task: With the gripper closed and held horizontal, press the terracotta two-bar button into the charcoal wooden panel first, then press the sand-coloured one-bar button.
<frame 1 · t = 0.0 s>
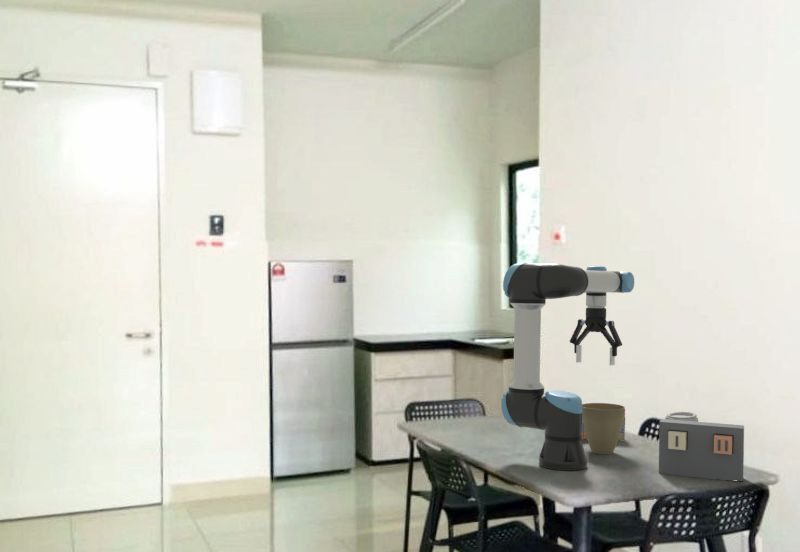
hand: (595, 363, 311), 28 cm above the table, tool pointing down, fingers open, 13 cm apart
button one: (677, 440, 252), point 11 cm above the table, slide at 0.0 cm
button panel: (700, 475, 253), on the table
disposable coffee cup: (680, 458, 278), on the table
stack of blocks: (594, 439, 310), on the table
plant pot: (601, 452, 286), on the table
button two: (723, 444, 246), point 11 cm above the table, slide at 0.0 cm
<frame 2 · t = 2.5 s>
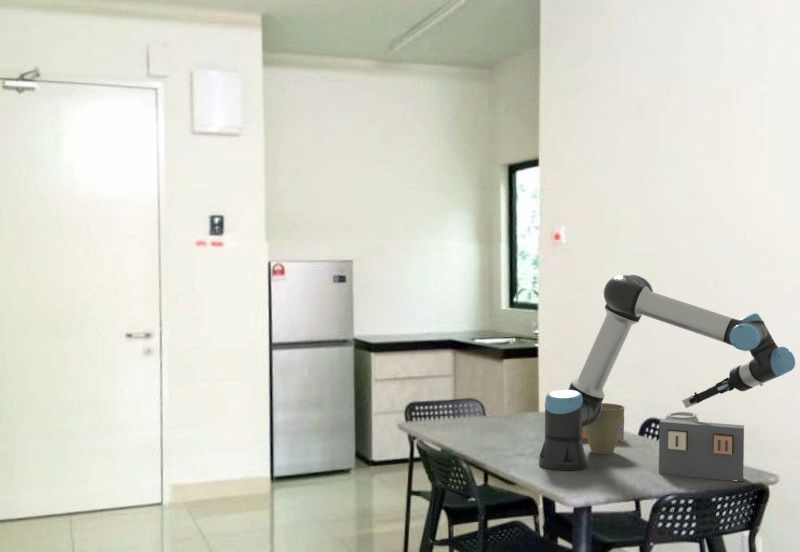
hand: (697, 398, 268), 22 cm above the table, tool tilted 65°, fingers open, 13 cm apart
plant pot: (601, 452, 286), on the table, touching arm
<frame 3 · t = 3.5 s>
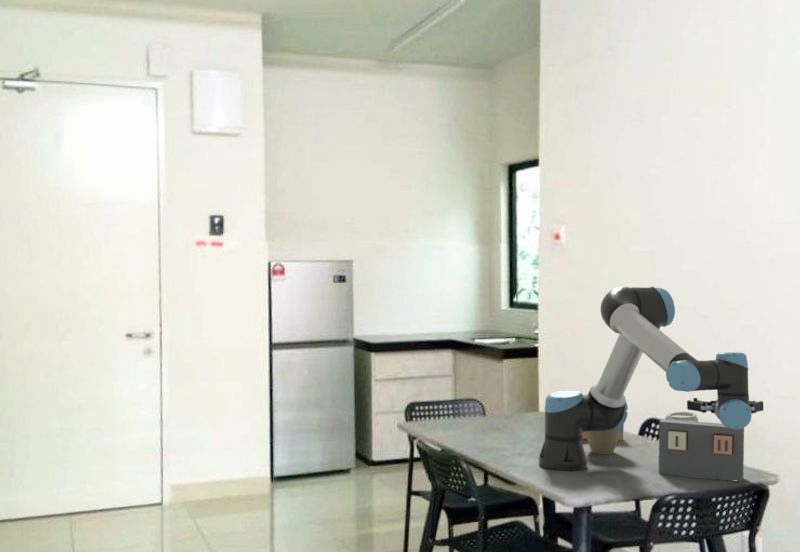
hand: (722, 403, 242), 24 cm above the table, tool horizontal, fingers open, 13 cm apart
plant pot: (601, 452, 286), on the table
everything else where it was.
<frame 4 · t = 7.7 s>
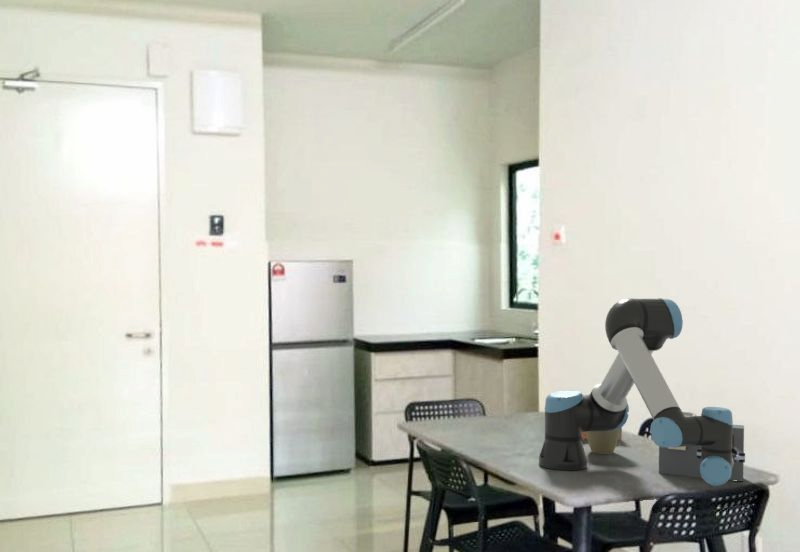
hand: (724, 445, 246), 11 cm above the table, tool horizontal, fingers closed
button two: (723, 443, 248), point 11 cm above the table, slide at 1.6 cm, touching gripper
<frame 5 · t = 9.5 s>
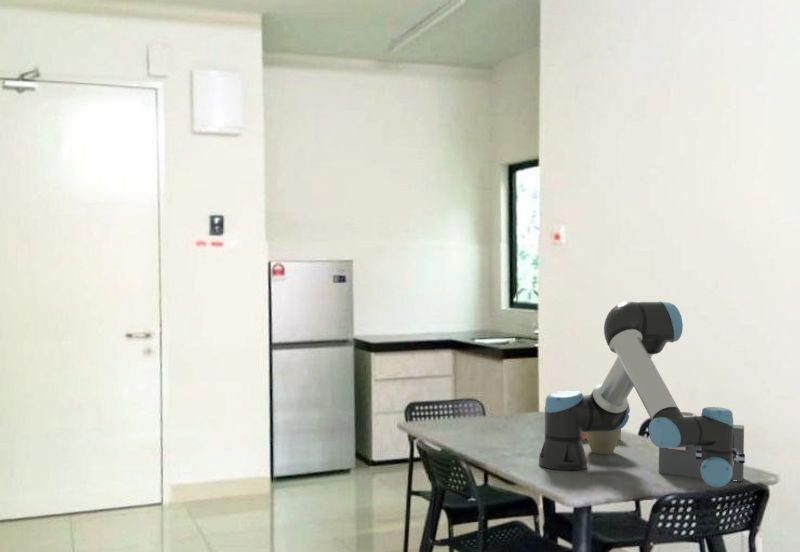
hand: (722, 446, 243), 11 cm above the table, tool horizontal, fingers closed
button two: (723, 443, 249), point 11 cm above the table, slide at 2.7 cm
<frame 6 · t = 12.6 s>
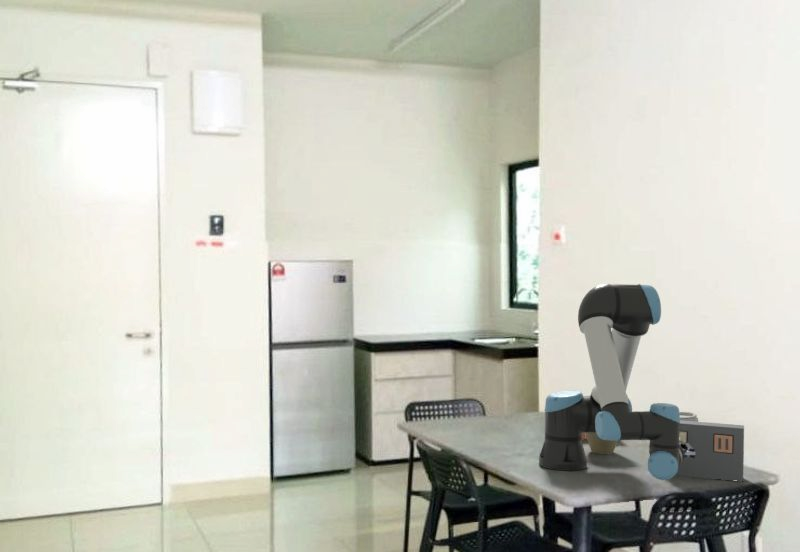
hand: (678, 441, 251), 11 cm above the table, tool horizontal, fingers closed
button one: (677, 439, 253), point 11 cm above the table, slide at 1.1 cm, touching gripper
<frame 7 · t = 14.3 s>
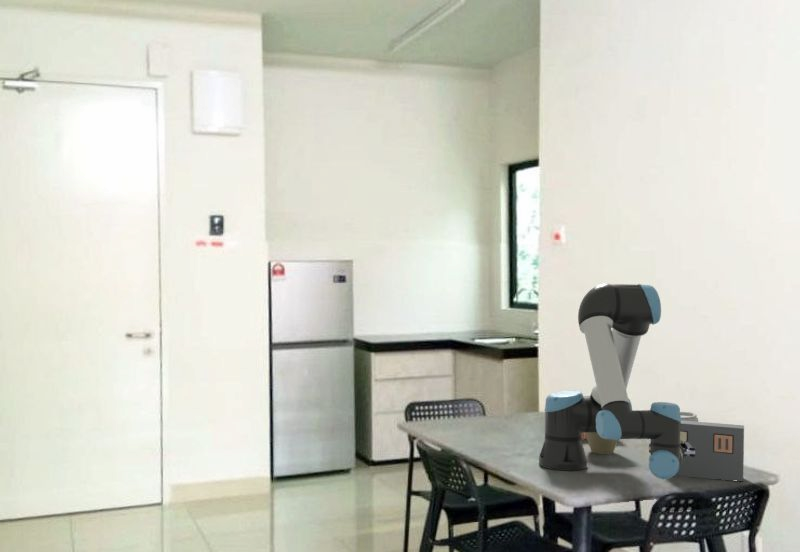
hand: (677, 440, 251), 11 cm above the table, tool horizontal, fingers closed
button one: (678, 438, 254), point 11 cm above the table, slide at 2.7 cm
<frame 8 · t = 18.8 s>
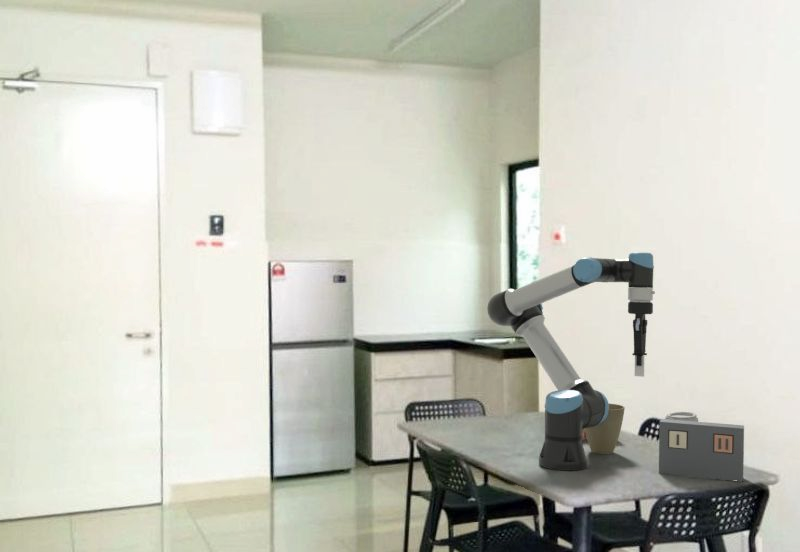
hand: (639, 376, 261), 29 cm above the table, tool pointing down, fingers closed
at the end: button two slide at 2.7 cm; button one slide at 2.7 cm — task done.
